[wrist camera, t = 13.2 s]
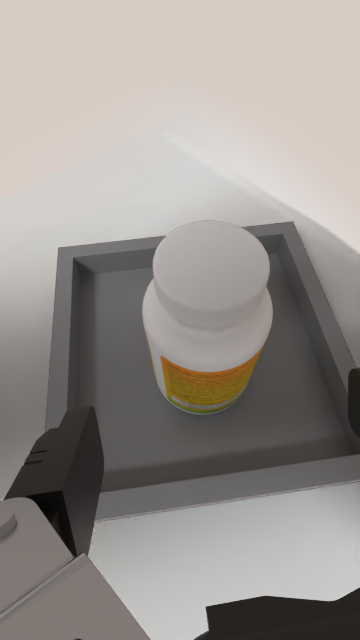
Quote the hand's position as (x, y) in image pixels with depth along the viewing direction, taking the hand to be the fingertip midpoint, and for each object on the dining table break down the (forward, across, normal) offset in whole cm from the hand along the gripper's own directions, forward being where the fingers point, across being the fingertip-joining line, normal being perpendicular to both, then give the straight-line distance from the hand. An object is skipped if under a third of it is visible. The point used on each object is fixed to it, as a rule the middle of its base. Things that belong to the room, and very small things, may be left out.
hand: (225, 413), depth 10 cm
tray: (+10, 0, +2) cm, 10 cm away
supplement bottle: (+9, 0, +2) cm, 9 cm away
